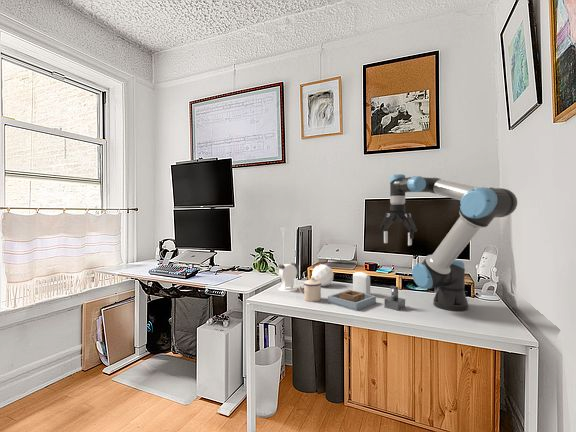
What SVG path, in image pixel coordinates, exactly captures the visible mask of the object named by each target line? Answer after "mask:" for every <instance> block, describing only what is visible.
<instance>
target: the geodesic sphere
mask: <svg viewBox="0 0 576 432" xmlns="http://www.w3.org/2000/svg"><path fill="white" fill-rule="evenodd" d="M311 272H312V273H311V277H314V279H316V280H317V281H320V282H321V287H327V286H330V285H331V283H332V282H333V281H334V276H335V275H334V274H335V273H334V272H333V269H332V267H330V266H328V265H327V264H324V263H320V264H318V265H316V266H315V267H314V268H313V269H312V271H311Z"/></svg>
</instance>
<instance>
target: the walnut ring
mask: <svg viewBox="0 0 576 432" xmlns="http://www.w3.org/2000/svg"><path fill="white" fill-rule="evenodd" d="M347 290H348V291H346V290H344V291H345V292H343V291H341V292H342V293H340V292H338V293H339V298H340V299H344V300H348V301H352V302H359V301H361V300H364V299H365V293H361V292H357V291H353V289H347Z"/></svg>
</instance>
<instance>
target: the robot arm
mask: <svg viewBox="0 0 576 432" xmlns="http://www.w3.org/2000/svg"><path fill="white" fill-rule="evenodd" d="M389 186H390V187H389V193H390V194H389V196H390V197H389V198H390V199H389V201H390V202H389V203H390V204H389V211H390V213H389V212H385V213H384V217H383V220H382V221H381V224H380V226H379V229H378V230H380V231H382V237H383V244H388V243H389V242H388V241H389V239H388V238H389V235H388V234H389V232H388V229H389V228H390V227H391V225H392V224H393V223H394V222H396V223H402V224H403V226H404V227H405V228H406V229H407V231H408V232H407V246H412V245H413V239H414V235H415V234H414V233H416V232H418V228H417V225H416V224H415V222H414V219H413V217H412V213H411V212H410V213H409V212H408V213H406V205H405V204H406V193H431V194H434V195H439V196H443V197H446V198H451V199H453V200H458V201H460V203H459V204H460V205H459V208H460V209H459V211H458V213H459V217H458V218H457V220H456V221H455V223H454V224H453V225H452V227H451V229H450V230H449V232H448V233H446V236H444V238H443V239H442V240H441V241H440V244H439V245H438V246H437V248H436V249H435V251H434V252H433V253H432V254H428V255H426V256H425V258H424V260H423V261H422V262H420V263H419V262H418V263H416V264H414V265H413V266H412V270H411V275H412V279H413V282H414V283H415V285H416V286H418V287H419V288H420V289H426V290H427V289H428V290H430V289H435V288H437V289H436V292H435V294H434V296H433V297H434V298H433V303H432V304H433V306H435V307H436V308H438V309H442V310H447V311H454V312H457V311H459V312H461V311H462V312H463V311H467V310H468V309H469V301H468V299H467V297H466V296H467V295H466V293H465V276H466V275H465V270H466V268H465V263H464V261H463V260H459V259H458V257H459V255H460V254H461V253H462V252H463V251H464V249H465V248H466V247H467V245H469V243H470V241H471V240H473V238H474V237H475V236H476V234H478V232H479V231H480V230H481V228H482V229H483V228H487V227H488V226H489V225H490V224H491V222H492V221H493V220H494V219H495V218H504V217H507V216H510V215H511V214H513V213H514V212H515V211H516V209H517V206H518V198H517V196H516V195H515V193H514V192H512V191H511V190H510V189H508V188H507V189H506V188H499V187H497V188H496V187H485V186H483V187H482V186H481V187H480V186H474V185H469V184H465V183H459V182H454V181H450V180H445V179H442V178H440V177H423V176H420V175H419V176H418V175H417V176H416V175H415V176H409V177H406V175H405V174H402V173H401V174H400V173H399V174H397V173H396V174H392V175H391V176H390V180H389ZM405 217H406V218H407V219H406V218H405ZM389 218H390V219H389ZM407 220H408V222H407Z"/></svg>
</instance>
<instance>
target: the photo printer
mask: <svg viewBox="0 0 576 432" xmlns="http://www.w3.org/2000/svg"><path fill="white" fill-rule="evenodd" d="M352 291H357V292H361V293H365V294H368V295H371V276H370V275H369V274H368V273H366V272H363V271H358V272H357V271H356V272H353V274H352Z"/></svg>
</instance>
